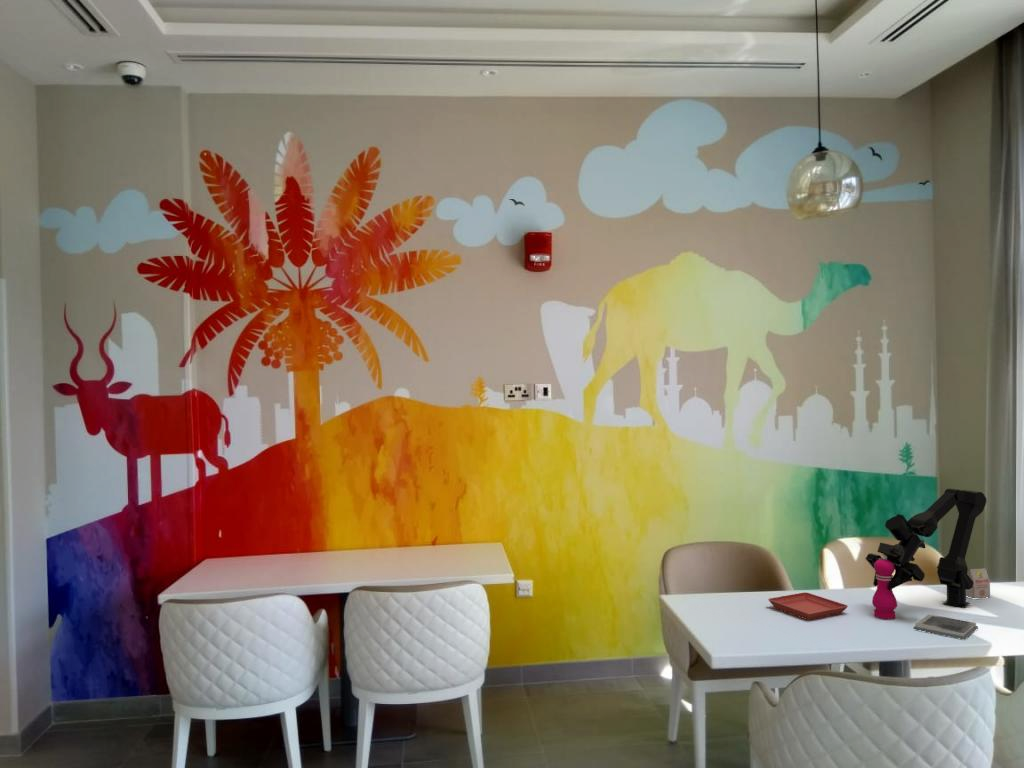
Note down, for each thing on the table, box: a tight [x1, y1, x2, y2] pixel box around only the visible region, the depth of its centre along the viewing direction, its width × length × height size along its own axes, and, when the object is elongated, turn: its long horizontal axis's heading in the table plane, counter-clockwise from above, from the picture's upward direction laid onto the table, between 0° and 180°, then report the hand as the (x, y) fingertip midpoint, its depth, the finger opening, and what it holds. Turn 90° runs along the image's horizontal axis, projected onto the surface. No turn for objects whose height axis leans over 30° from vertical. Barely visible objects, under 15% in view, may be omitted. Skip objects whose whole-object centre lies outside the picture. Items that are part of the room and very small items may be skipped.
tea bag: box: [966, 567, 991, 598], centre depth 270 cm, size 4×7×10 cm, turn 101°
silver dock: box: [912, 614, 979, 640], centre depth 236 cm, size 14×14×2 cm
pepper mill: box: [871, 554, 898, 620], centre depth 250 cm, size 7×7×20 cm
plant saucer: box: [767, 591, 849, 620], centre depth 257 cm, size 18×18×3 cm
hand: (881, 587), depth 249 cm, fingers closed on pepper mill, 5 cm apart
